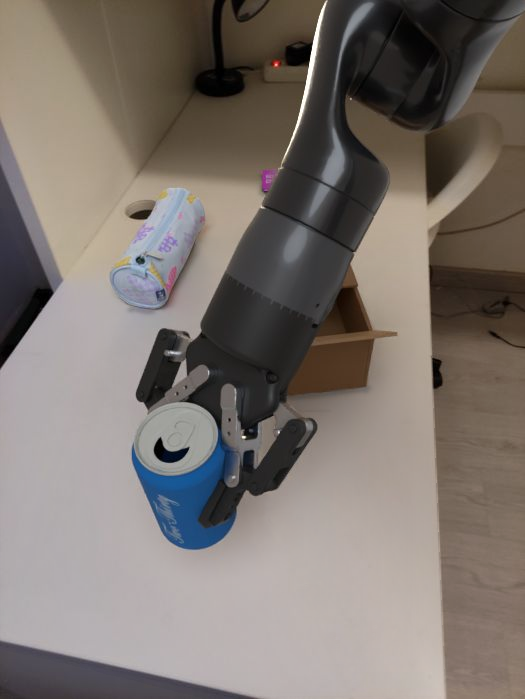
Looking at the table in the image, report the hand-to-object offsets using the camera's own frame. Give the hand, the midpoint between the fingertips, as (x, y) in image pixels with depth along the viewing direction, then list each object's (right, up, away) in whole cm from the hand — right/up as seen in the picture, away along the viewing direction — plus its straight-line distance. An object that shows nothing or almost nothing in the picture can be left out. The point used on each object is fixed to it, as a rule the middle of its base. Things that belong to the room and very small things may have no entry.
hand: (175, 493), depth 40 cm
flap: (+13, +12, +17) cm, 25 cm away
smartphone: (+14, +42, +63) cm, 77 cm away
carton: (+12, +11, +34) cm, 38 cm away
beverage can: (+1, -3, +5) cm, 6 cm away
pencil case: (-9, +23, +46) cm, 53 cm away
